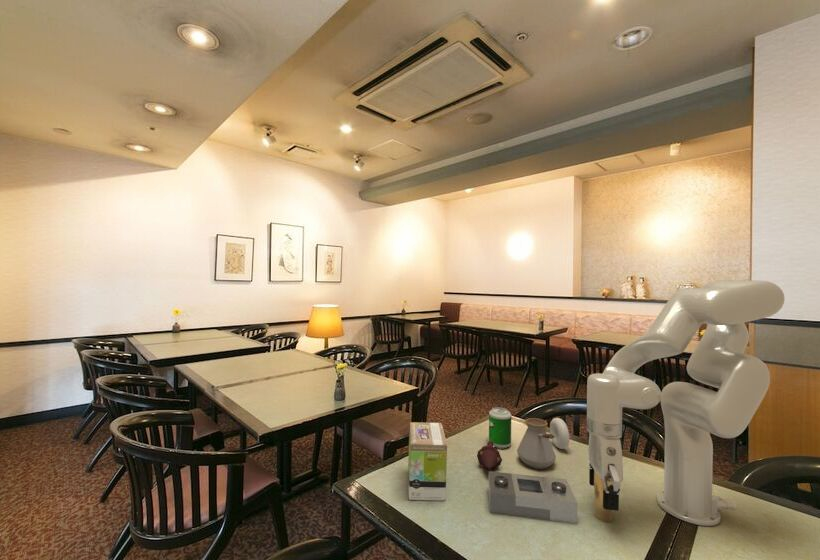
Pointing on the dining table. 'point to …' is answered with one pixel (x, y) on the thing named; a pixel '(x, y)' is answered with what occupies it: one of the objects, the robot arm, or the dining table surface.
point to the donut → (559, 433)
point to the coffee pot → (536, 445)
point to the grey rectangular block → (531, 497)
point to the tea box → (427, 461)
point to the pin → (600, 500)
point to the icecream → (489, 456)
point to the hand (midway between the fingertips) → (603, 496)
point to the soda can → (500, 427)
